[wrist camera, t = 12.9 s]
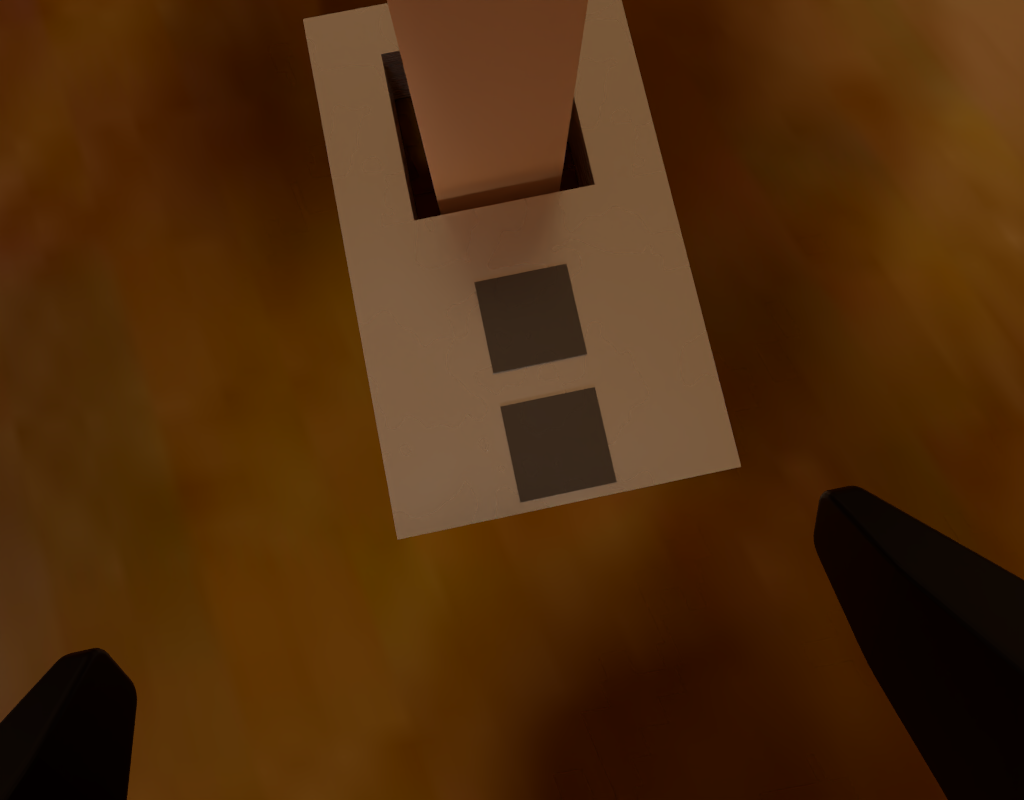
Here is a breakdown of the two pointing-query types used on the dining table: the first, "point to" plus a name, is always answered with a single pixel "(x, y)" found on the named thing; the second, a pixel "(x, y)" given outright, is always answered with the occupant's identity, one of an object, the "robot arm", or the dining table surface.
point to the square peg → (491, 93)
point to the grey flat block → (519, 299)
